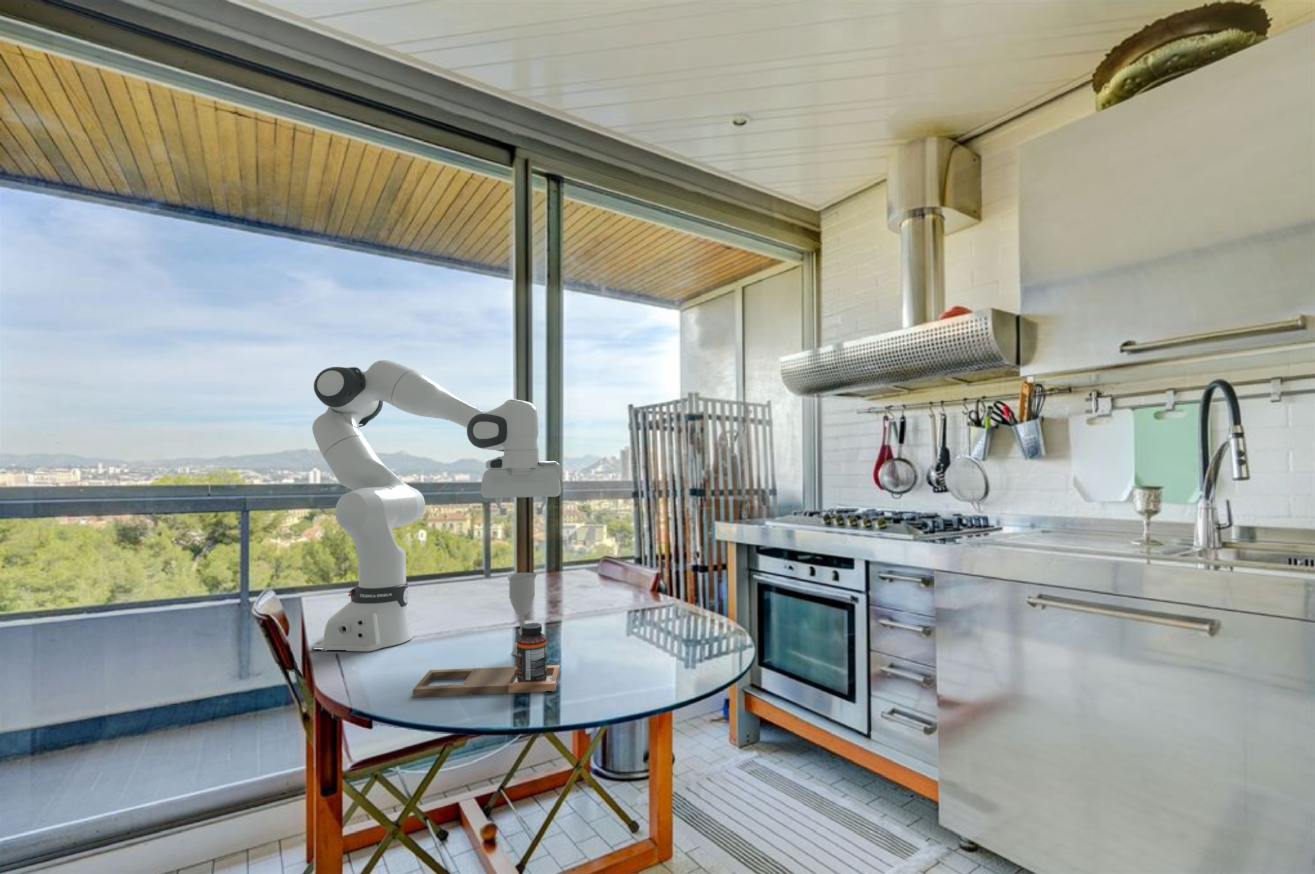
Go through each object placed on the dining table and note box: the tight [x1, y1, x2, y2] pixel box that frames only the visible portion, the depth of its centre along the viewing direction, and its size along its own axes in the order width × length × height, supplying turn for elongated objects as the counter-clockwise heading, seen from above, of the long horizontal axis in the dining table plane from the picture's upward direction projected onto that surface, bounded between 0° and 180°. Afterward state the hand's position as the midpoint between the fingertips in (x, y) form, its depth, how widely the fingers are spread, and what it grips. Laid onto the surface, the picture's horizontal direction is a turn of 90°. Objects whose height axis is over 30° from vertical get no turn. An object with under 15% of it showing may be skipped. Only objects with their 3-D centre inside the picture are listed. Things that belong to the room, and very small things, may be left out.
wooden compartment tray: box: [412, 664, 561, 698], centre depth 124 cm, size 27×11×2 cm, turn 94°
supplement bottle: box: [516, 622, 548, 682], centre depth 125 cm, size 6×6×11 cm
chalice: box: [506, 572, 538, 657], centre depth 145 cm, size 7×7×18 cm
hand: (521, 514), depth 160 cm, fingers open, 8 cm apart
